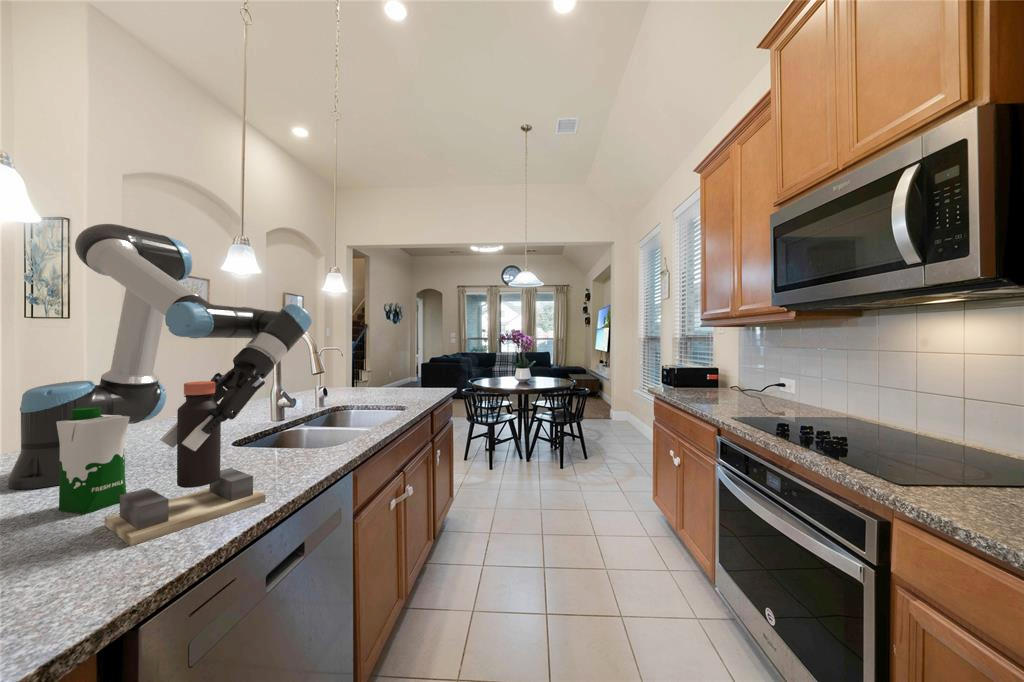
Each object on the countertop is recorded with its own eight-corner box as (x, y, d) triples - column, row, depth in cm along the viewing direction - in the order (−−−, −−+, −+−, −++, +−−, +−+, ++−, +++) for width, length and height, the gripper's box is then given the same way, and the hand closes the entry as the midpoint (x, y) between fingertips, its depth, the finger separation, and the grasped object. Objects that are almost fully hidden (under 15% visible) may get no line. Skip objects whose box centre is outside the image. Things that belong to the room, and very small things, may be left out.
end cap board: (104, 525, 71) (104, 495, 71) (233, 488, 89) (233, 464, 89) (130, 546, 64) (130, 513, 64) (265, 501, 82) (265, 475, 82)
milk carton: (103, 495, 85) (104, 404, 85) (135, 498, 83) (136, 406, 83) (48, 512, 76) (49, 411, 76) (83, 516, 75) (84, 413, 75)
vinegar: (167, 488, 74) (167, 384, 74) (197, 475, 81) (197, 380, 81) (201, 489, 74) (202, 385, 74) (228, 476, 81) (229, 381, 81)
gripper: (300, 368, 88) (224, 460, 73) (243, 366, 95) (163, 450, 80) (278, 345, 83) (193, 439, 68) (220, 345, 90) (131, 430, 75)
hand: (177, 445), depth 74 cm, fingers closed on vinegar, 6 cm apart
